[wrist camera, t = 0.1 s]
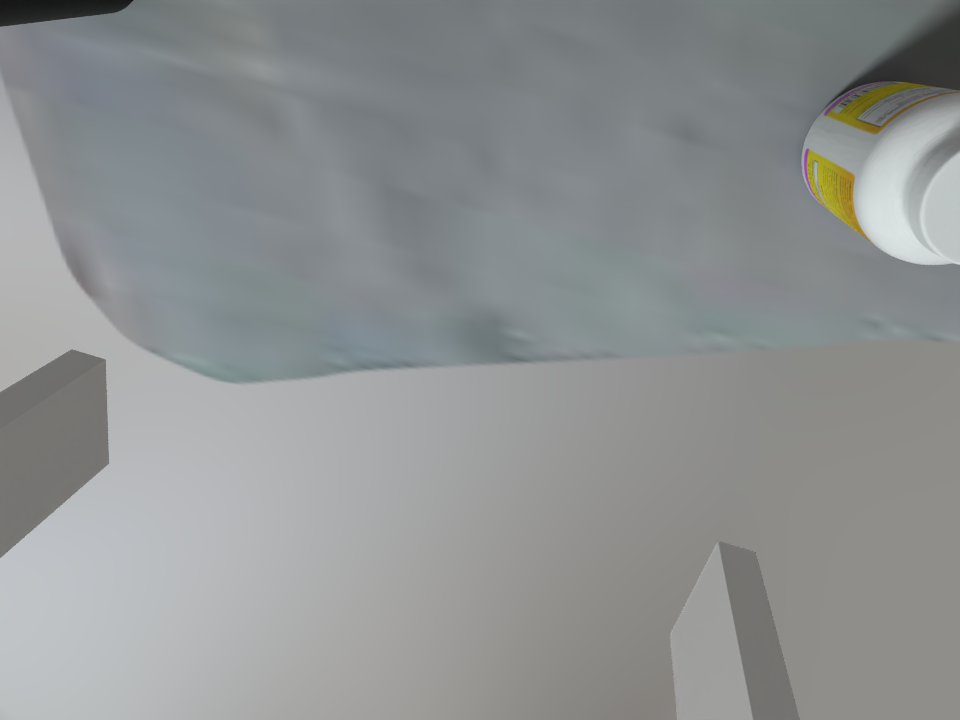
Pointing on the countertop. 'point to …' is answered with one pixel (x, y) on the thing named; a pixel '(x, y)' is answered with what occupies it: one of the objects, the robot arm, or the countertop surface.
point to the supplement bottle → (891, 167)
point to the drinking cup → (54, 9)
